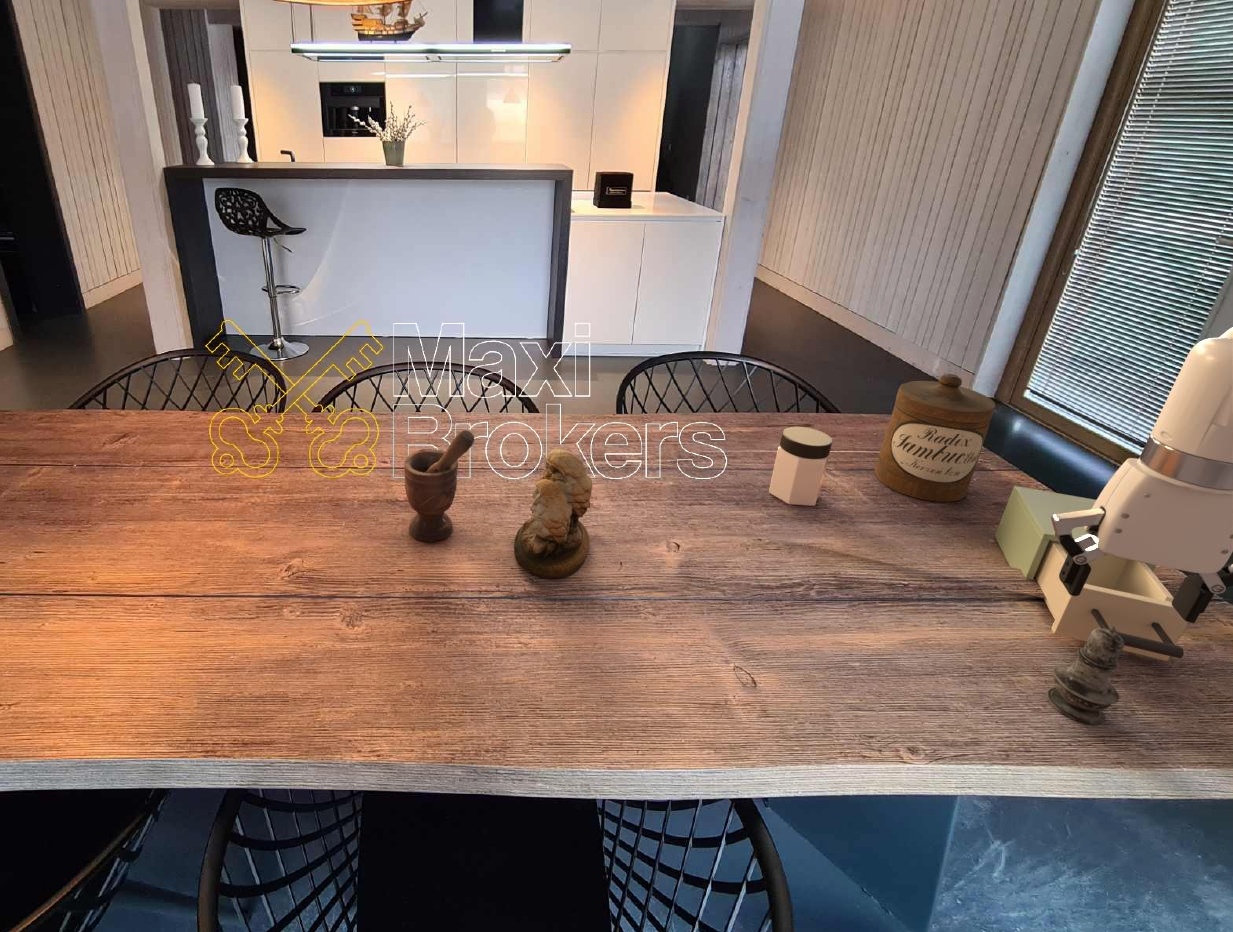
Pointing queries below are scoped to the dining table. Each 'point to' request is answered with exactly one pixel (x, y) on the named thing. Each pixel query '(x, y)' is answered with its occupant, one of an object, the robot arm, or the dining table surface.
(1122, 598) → the drawer
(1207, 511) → the robot arm
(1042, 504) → the cabinet
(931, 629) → the dining table surface
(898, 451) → the wooden container
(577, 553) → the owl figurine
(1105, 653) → the chess piece
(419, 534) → the mortar and pestle
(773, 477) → the jar
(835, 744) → the dining table surface
